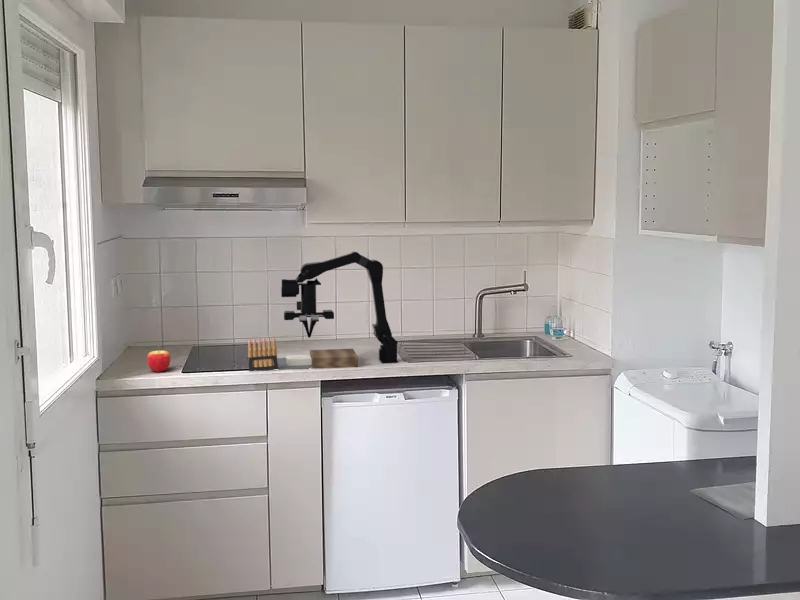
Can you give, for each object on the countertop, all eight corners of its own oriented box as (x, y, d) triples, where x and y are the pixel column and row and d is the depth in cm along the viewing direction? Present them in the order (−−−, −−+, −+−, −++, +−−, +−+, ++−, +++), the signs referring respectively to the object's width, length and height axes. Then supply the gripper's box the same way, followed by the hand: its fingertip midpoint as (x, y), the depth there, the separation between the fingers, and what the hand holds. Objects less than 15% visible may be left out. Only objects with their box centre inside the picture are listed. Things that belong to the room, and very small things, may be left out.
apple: (172, 368, 306) (171, 342, 305) (169, 373, 298) (168, 346, 296) (149, 369, 305) (148, 342, 304) (146, 374, 297) (144, 347, 295)
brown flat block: (353, 358, 323) (352, 348, 323) (357, 366, 308) (357, 356, 307) (310, 360, 320) (309, 350, 320) (312, 368, 305) (312, 358, 304)
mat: (308, 358, 324) (308, 357, 324) (311, 368, 305) (311, 367, 305) (272, 359, 322) (272, 358, 322) (273, 370, 302) (273, 369, 302)
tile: (309, 361, 316) (309, 354, 316) (311, 364, 310) (311, 358, 309) (286, 362, 315) (286, 355, 314) (287, 365, 308) (287, 359, 308)
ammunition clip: (278, 367, 304) (275, 336, 303) (278, 368, 303) (275, 336, 301) (249, 370, 303) (246, 338, 301) (248, 371, 301) (246, 339, 299)
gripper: (331, 293, 319) (331, 333, 321) (283, 294, 315) (283, 334, 317) (333, 297, 308) (334, 338, 310) (284, 298, 305) (284, 339, 307)
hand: (309, 337), depth 311 cm, fingers closed
